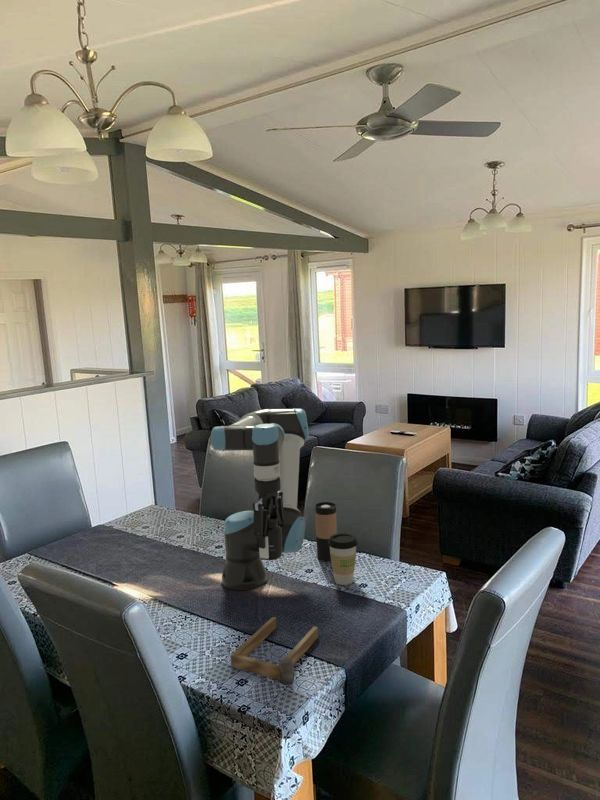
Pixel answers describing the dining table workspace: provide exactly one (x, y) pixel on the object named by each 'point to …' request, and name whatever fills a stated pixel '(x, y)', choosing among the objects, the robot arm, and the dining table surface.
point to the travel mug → (325, 528)
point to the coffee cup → (343, 557)
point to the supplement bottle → (274, 538)
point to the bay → (267, 669)
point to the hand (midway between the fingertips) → (270, 552)
